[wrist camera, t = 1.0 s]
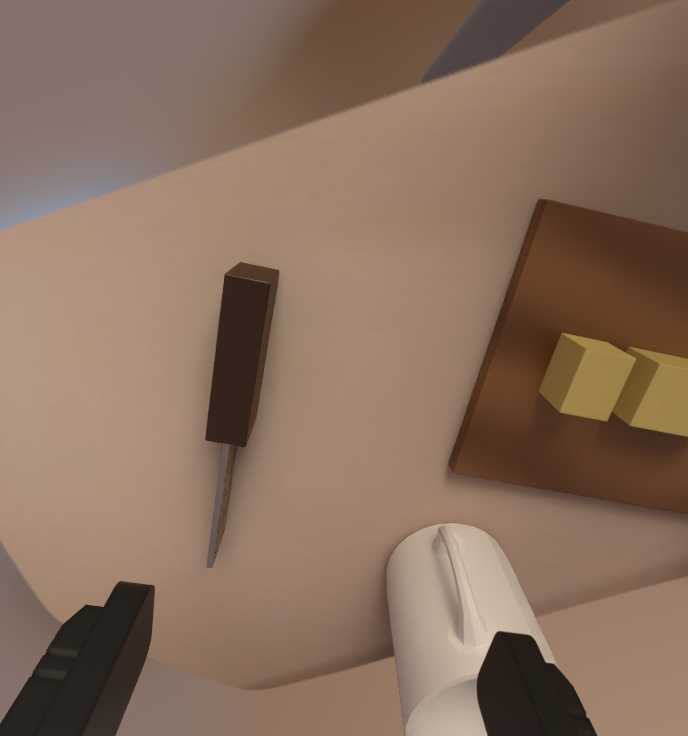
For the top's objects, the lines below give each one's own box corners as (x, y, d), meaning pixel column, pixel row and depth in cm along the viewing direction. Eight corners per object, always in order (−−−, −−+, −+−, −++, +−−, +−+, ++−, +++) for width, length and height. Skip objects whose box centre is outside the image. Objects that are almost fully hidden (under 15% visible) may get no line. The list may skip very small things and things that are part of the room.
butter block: (628, 346, 28) (660, 363, 26) (730, 367, 29) (772, 386, 26) (602, 403, 30) (629, 426, 27) (700, 422, 30) (737, 446, 28)
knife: (239, 261, 27) (224, 273, 24) (279, 270, 28) (271, 282, 24) (205, 528, 34) (189, 570, 31) (237, 533, 35) (225, 575, 31)
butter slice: (561, 332, 28) (586, 348, 25) (607, 342, 28) (637, 358, 25) (537, 391, 29) (559, 412, 27) (581, 399, 30) (607, 421, 27)
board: (538, 198, 26) (547, 199, 25) (846, 271, 28) (867, 274, 27) (448, 463, 33) (452, 473, 31) (704, 508, 34) (716, 519, 33)
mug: (411, 626, 38) (441, 800, 27) (349, 520, 34) (356, 675, 23) (520, 587, 37) (597, 753, 26) (469, 473, 33) (535, 613, 22)
